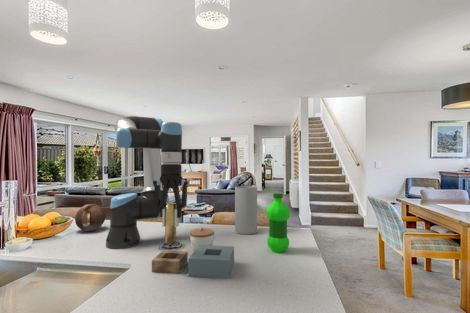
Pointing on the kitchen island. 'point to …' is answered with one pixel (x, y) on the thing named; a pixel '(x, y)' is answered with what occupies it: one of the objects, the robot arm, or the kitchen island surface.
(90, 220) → the wooden sphere
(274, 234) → the plastic bottle
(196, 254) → the dock socket
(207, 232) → the lidded jar
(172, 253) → the block
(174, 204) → the brass pin
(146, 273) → the kitchen island surface
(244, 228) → the cylinder vase
